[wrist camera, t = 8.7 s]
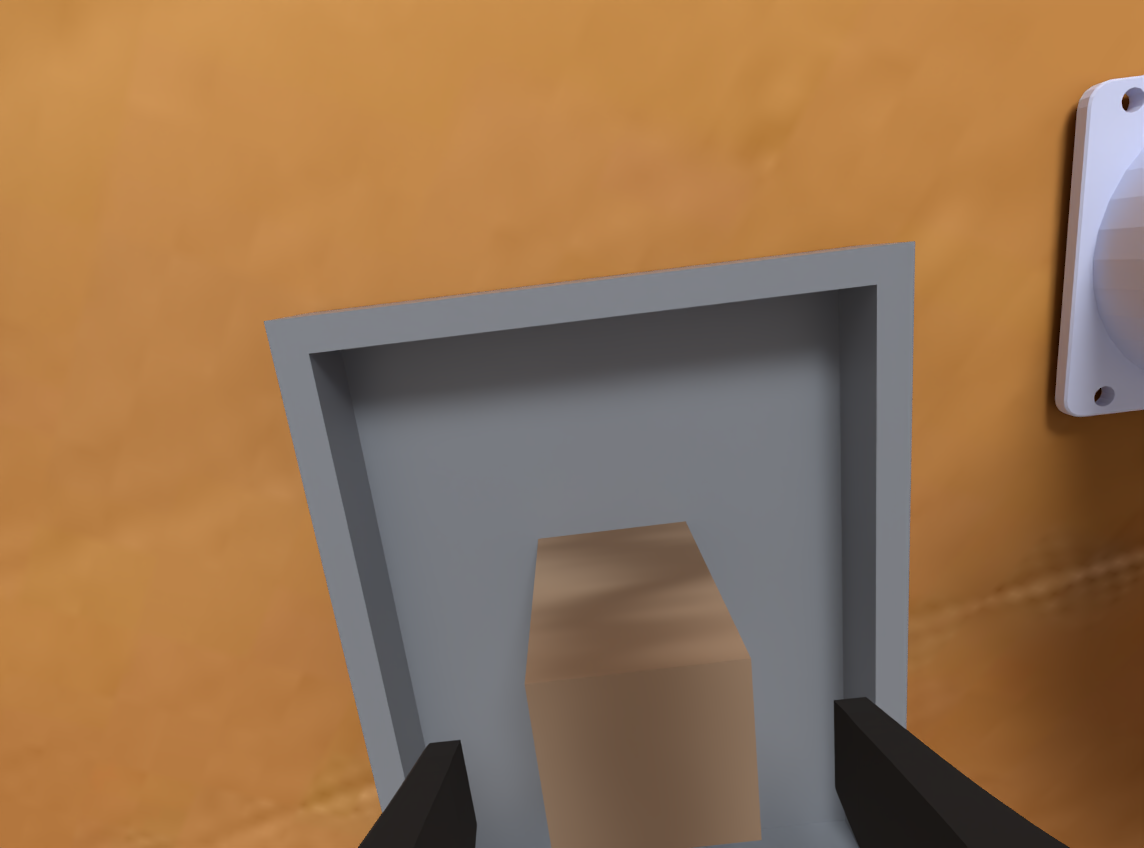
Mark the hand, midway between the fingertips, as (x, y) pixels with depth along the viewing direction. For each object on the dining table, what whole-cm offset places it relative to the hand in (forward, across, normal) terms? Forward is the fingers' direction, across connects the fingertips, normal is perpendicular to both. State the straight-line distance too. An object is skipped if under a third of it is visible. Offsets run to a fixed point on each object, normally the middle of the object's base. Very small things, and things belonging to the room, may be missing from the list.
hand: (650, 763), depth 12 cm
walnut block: (+6, 0, 0) cm, 6 cm away
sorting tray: (+6, 0, 0) cm, 6 cm away
